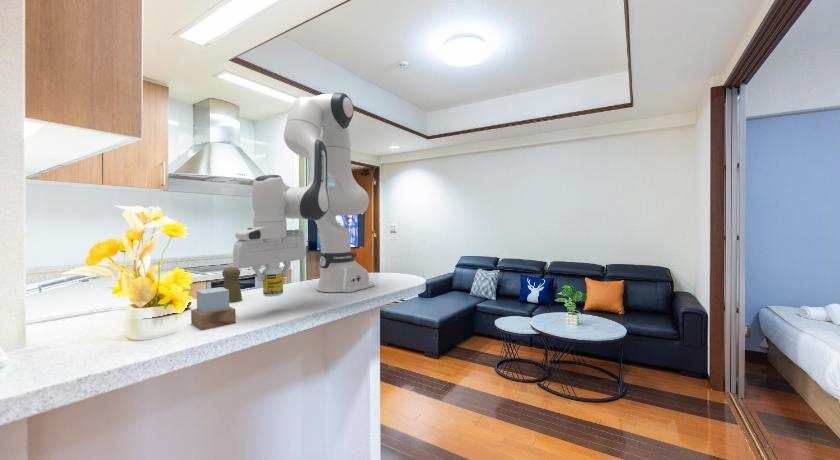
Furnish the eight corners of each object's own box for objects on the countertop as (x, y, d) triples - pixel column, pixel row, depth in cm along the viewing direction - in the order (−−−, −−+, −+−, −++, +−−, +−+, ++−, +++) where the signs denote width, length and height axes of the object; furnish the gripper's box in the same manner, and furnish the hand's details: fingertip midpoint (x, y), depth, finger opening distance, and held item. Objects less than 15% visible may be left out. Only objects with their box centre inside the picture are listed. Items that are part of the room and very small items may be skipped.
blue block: (222, 305, 98) (221, 287, 98) (229, 309, 94) (228, 290, 93) (197, 309, 94) (196, 290, 93) (203, 313, 89) (202, 293, 89)
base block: (224, 318, 99) (224, 303, 99) (235, 324, 94) (235, 308, 94) (191, 324, 93) (191, 309, 93) (201, 331, 88) (200, 315, 88)
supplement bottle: (266, 298, 101) (264, 263, 100) (261, 294, 105) (259, 261, 105) (285, 294, 105) (284, 261, 104) (280, 291, 109) (278, 259, 108)
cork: (246, 298, 121) (245, 266, 121) (235, 303, 115) (234, 269, 115) (229, 298, 122) (228, 266, 122) (217, 302, 116) (216, 269, 116)
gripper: (298, 228, 113) (300, 271, 114) (229, 233, 98) (232, 283, 99) (308, 229, 109) (310, 274, 110) (238, 234, 94) (241, 286, 95)
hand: (272, 278), depth 105 cm, fingers closed on supplement bottle, 5 cm apart
